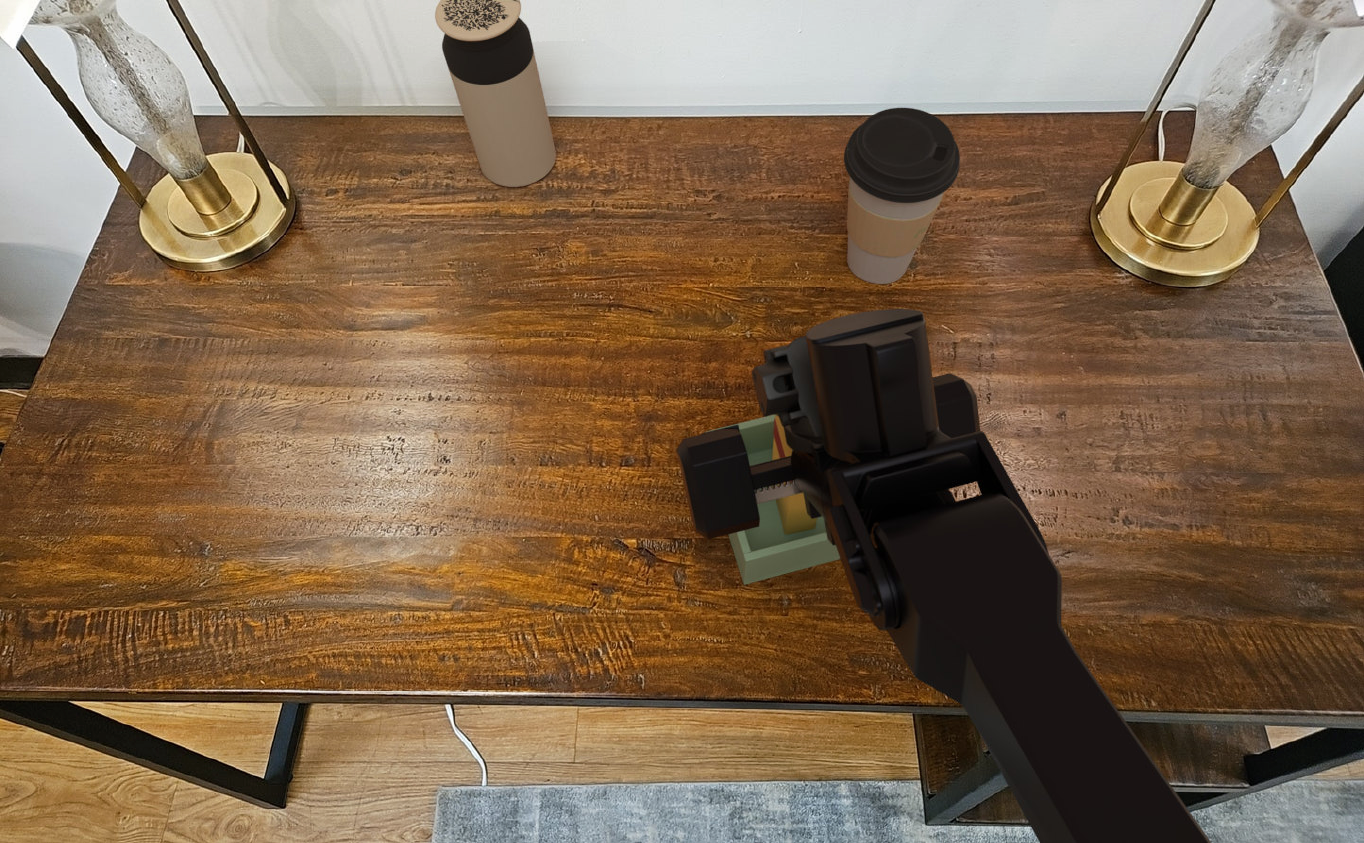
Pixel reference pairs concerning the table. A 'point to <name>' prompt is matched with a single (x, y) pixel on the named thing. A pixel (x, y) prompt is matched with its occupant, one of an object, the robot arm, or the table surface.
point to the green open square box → (774, 524)
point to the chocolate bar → (794, 505)
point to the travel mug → (498, 88)
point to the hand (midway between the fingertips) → (794, 420)
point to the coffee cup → (895, 188)
